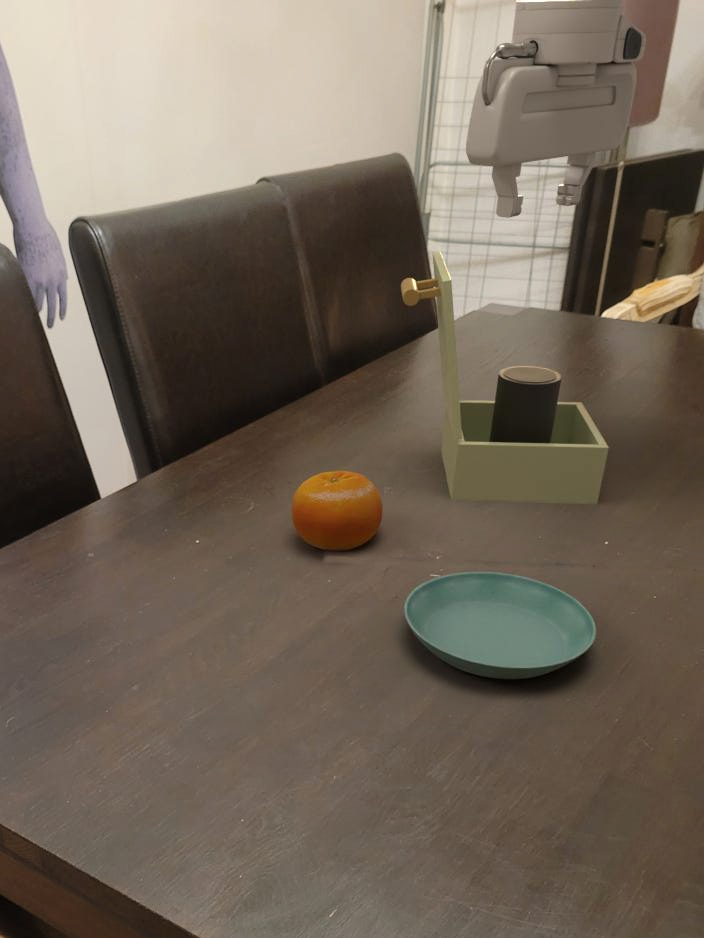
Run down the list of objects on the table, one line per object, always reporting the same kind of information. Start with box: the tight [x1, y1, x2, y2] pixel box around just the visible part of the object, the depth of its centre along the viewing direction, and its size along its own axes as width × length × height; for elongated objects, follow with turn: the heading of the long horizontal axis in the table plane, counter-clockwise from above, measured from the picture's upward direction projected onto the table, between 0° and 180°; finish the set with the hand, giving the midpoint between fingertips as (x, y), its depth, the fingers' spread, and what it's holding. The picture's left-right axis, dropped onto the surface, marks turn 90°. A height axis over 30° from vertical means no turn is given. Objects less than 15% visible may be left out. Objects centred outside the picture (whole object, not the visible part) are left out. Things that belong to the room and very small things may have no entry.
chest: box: [440, 399, 610, 505], centre depth 102 cm, size 15×14×7 cm
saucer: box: [403, 571, 597, 680], centre depth 76 cm, size 15×15×3 cm
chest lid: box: [400, 250, 462, 440], centre depth 97 cm, size 15×14×4 cm
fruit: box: [290, 470, 383, 551], centre depth 91 cm, size 8×8×8 cm
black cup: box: [489, 365, 563, 444], centre depth 101 cm, size 6×6×11 cm
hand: (538, 210), depth 92 cm, fingers open, 8 cm apart
